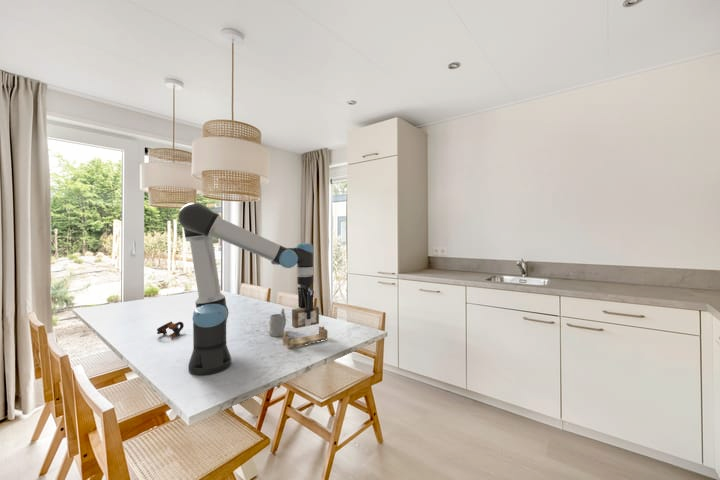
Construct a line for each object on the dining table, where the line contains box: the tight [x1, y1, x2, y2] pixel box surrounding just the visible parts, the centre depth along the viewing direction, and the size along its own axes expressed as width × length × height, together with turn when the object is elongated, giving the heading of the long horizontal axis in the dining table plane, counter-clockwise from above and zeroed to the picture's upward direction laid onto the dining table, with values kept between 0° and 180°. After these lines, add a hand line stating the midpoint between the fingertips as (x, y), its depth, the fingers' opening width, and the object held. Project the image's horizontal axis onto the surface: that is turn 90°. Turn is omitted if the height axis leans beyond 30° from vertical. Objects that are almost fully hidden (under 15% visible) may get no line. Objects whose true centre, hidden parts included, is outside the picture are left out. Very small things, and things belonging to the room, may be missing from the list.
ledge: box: [282, 326, 328, 350], centre depth 148 cm, size 20×7×6 cm, turn 124°
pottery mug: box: [156, 321, 185, 340], centre depth 157 cm, size 12×10×8 cm
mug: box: [268, 308, 287, 338], centre depth 161 cm, size 8×12×12 cm, turn 162°
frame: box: [291, 305, 320, 329], centre depth 148 cm, size 12×4×8 cm, turn 124°
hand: (305, 324), depth 148 cm, fingers closed on frame, 4 cm apart
